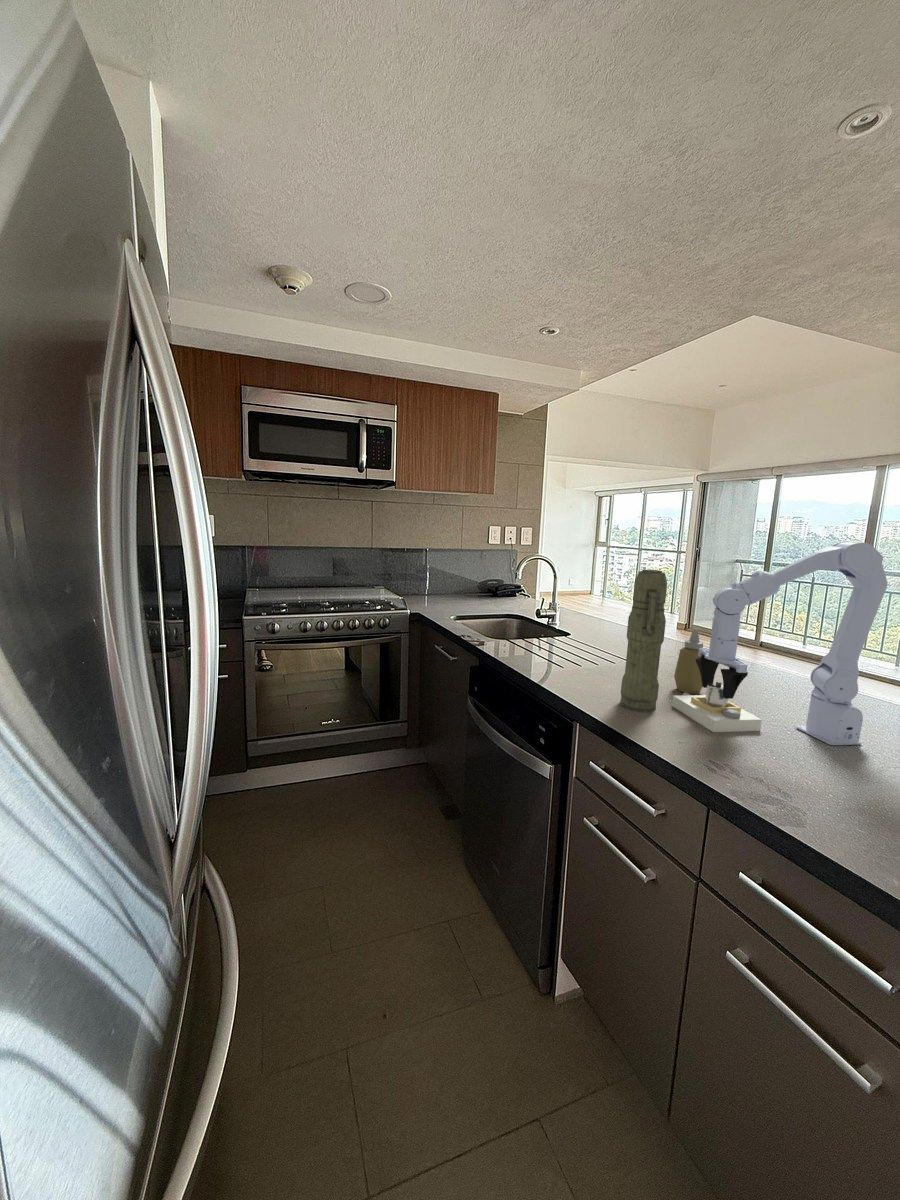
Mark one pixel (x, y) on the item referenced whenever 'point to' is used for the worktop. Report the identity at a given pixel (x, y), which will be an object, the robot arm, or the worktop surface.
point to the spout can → (715, 695)
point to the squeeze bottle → (689, 666)
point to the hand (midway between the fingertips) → (717, 692)
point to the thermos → (644, 642)
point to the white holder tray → (716, 714)
